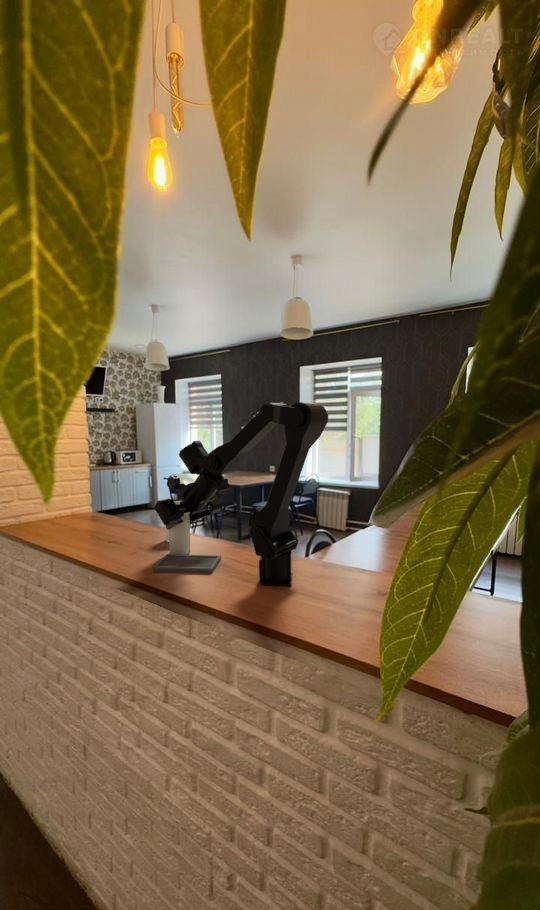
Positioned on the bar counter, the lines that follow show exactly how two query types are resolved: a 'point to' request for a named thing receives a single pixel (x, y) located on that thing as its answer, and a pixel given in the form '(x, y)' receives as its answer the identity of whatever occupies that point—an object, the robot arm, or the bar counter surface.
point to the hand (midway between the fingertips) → (175, 525)
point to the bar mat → (187, 563)
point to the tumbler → (180, 536)
